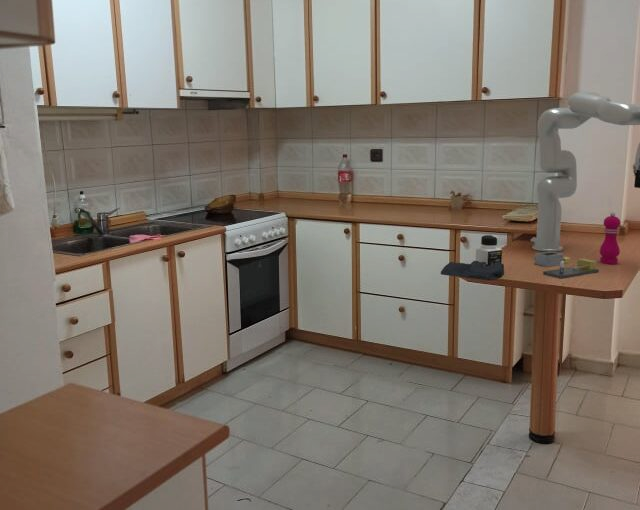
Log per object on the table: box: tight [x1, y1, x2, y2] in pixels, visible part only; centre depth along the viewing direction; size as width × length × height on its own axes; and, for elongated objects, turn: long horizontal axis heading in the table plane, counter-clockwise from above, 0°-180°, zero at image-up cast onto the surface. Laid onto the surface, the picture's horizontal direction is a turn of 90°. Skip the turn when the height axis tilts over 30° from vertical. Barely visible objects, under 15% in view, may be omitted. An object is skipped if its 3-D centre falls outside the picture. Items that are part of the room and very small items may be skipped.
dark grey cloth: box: [440, 260, 505, 281], centre depth 237 cm, size 15×22×5 cm
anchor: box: [563, 256, 571, 265], centre depth 254 cm, size 6×3×3 cm, turn 28°
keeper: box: [542, 257, 600, 279], centre depth 235 cm, size 8×20×5 cm, turn 118°
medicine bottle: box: [475, 234, 503, 267], centre depth 247 cm, size 7×7×12 cm
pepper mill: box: [599, 211, 621, 265], centre depth 251 cm, size 7×7×20 cm
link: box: [534, 251, 565, 268], centre depth 251 cm, size 6×9×4 cm, turn 118°
